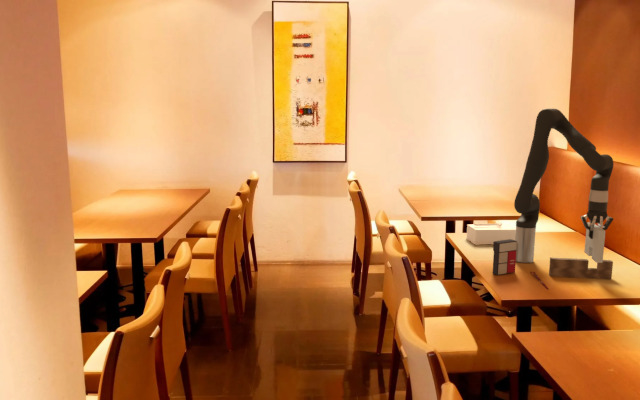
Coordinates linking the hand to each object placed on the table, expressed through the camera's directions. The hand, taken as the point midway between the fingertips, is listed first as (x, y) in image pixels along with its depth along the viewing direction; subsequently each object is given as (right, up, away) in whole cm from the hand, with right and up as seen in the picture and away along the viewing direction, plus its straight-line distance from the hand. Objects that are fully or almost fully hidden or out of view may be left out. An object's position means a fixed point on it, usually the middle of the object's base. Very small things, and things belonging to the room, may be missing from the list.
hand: (594, 238), depth 261 cm
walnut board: (-5, -18, +4) cm, 19 cm away
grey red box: (-38, -17, +9) cm, 42 cm away
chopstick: (-25, -19, -2) cm, 32 cm away
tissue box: (-25, -7, +70) cm, 75 cm away
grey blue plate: (0, -8, +1) cm, 9 cm away
